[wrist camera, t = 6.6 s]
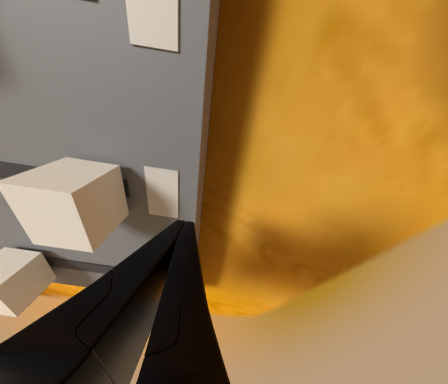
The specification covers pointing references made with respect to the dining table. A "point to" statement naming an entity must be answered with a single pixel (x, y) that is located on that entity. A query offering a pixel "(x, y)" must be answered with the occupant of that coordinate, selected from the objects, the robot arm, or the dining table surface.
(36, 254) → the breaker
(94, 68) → the grey slider switch panel
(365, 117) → the dining table surface
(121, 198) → the block
